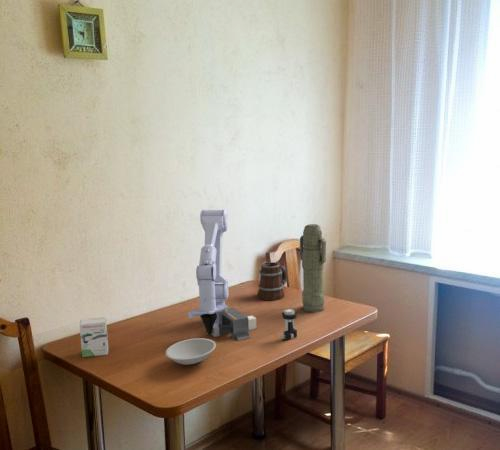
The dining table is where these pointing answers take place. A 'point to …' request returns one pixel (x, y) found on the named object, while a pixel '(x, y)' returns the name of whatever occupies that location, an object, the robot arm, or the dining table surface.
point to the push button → (289, 324)
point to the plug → (226, 330)
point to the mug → (271, 281)
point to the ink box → (94, 336)
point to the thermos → (313, 267)
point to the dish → (190, 350)
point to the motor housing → (235, 323)
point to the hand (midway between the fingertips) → (209, 333)
